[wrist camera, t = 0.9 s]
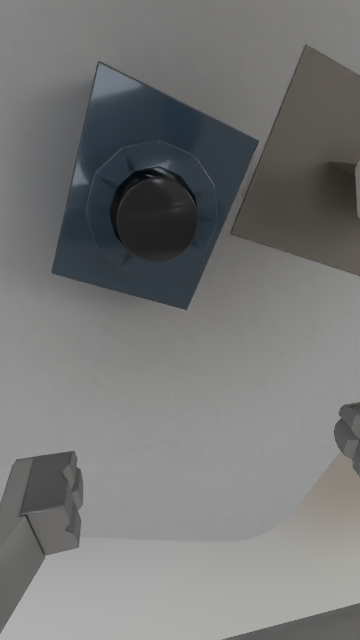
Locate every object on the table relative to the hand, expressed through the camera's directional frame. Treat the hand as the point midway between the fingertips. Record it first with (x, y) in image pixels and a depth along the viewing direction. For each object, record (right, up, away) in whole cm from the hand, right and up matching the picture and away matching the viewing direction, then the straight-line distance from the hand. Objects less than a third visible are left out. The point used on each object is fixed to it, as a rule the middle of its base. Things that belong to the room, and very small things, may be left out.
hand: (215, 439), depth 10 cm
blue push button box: (-3, +12, +13) cm, 18 cm away
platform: (+13, +14, +15) cm, 24 cm away
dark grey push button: (-2, +9, +8) cm, 12 cm away
